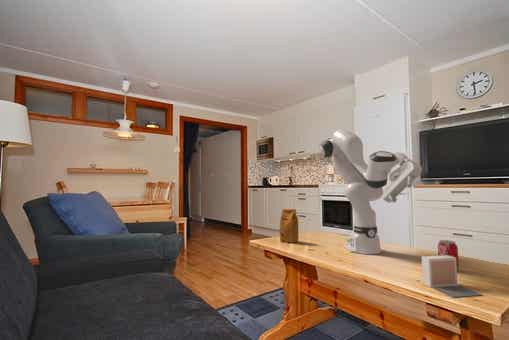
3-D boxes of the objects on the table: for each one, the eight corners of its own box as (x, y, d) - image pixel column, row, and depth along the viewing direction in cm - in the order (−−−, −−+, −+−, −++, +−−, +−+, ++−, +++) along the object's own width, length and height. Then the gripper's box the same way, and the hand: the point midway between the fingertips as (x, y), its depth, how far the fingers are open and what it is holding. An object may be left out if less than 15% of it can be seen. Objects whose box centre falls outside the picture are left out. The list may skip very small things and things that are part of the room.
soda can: (435, 268, 115) (433, 240, 116) (446, 266, 118) (444, 239, 119) (452, 272, 109) (450, 243, 109) (463, 270, 111) (461, 242, 112)
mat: (433, 288, 93) (433, 287, 93) (460, 286, 94) (460, 285, 94) (452, 297, 85) (452, 296, 85) (482, 295, 86) (482, 294, 86)
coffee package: (287, 239, 183) (286, 207, 185) (300, 241, 173) (300, 208, 175) (277, 241, 177) (276, 208, 178) (290, 244, 167) (289, 209, 169)
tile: (423, 283, 97) (421, 256, 98) (449, 282, 99) (447, 255, 99) (430, 287, 94) (429, 259, 94) (458, 285, 95) (456, 257, 96)
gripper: (379, 187, 122) (378, 205, 111) (409, 155, 109) (411, 172, 98) (391, 194, 121) (391, 213, 111) (423, 162, 108) (427, 180, 98)
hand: (401, 193), depth 104 cm, fingers open, 8 cm apart
